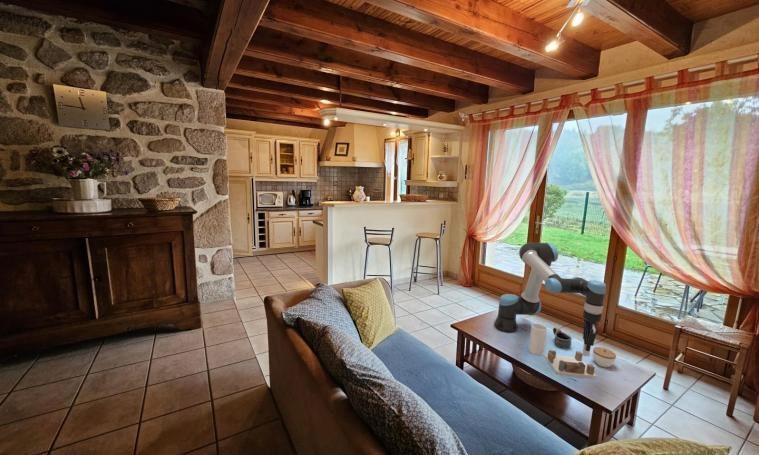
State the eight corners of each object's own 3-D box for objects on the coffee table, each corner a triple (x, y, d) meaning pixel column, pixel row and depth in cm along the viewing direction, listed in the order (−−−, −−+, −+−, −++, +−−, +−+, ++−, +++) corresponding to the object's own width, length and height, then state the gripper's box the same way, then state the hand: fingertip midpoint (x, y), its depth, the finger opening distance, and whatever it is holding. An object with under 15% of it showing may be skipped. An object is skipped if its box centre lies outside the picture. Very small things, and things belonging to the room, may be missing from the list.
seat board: (544, 356, 189) (545, 346, 188) (580, 360, 187) (582, 350, 186) (556, 374, 172) (558, 363, 171) (596, 378, 170) (598, 367, 169)
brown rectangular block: (565, 371, 172) (567, 363, 171) (563, 368, 175) (564, 360, 174) (584, 373, 171) (585, 365, 170) (581, 370, 174) (582, 362, 173)
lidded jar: (587, 361, 186) (589, 346, 185) (599, 357, 191) (601, 343, 189) (606, 371, 177) (608, 356, 175) (618, 367, 181) (621, 352, 180)
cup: (545, 355, 190) (548, 330, 187) (530, 353, 192) (533, 328, 189) (541, 348, 198) (544, 324, 195) (527, 346, 200) (530, 322, 197)
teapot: (563, 351, 196) (566, 336, 194) (545, 341, 207) (547, 327, 205) (574, 348, 200) (576, 333, 198) (556, 339, 211) (558, 324, 209)
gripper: (606, 318, 153) (598, 363, 156) (596, 308, 165) (590, 350, 169) (588, 315, 155) (581, 360, 158) (580, 305, 167) (573, 347, 171)
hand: (585, 355), depth 163 cm, fingers closed
